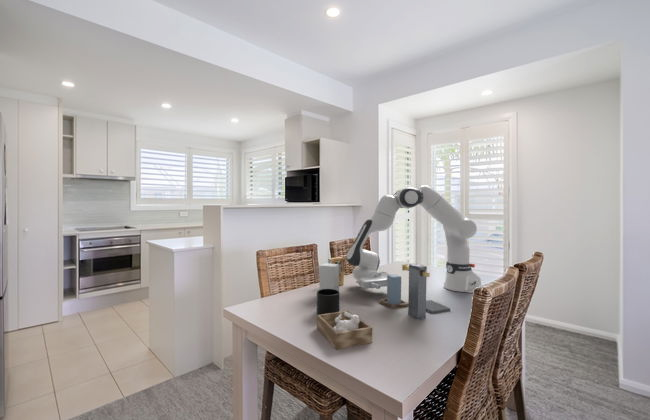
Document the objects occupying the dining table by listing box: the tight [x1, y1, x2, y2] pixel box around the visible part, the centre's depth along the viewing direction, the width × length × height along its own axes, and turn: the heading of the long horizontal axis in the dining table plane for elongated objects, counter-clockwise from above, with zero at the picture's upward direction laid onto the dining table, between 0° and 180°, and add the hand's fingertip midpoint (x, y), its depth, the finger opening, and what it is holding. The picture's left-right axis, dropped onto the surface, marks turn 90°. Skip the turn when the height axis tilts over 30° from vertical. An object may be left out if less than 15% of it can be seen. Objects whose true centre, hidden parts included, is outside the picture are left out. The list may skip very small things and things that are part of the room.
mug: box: [316, 289, 341, 315], centre depth 128 cm, size 9×12×9 cm
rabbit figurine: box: [333, 312, 360, 332], centre depth 105 cm, size 12×8×10 cm, turn 84°
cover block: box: [386, 274, 402, 305], centre depth 139 cm, size 4×4×13 cm
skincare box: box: [318, 262, 340, 292], centre depth 151 cm, size 8×7×16 cm
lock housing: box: [407, 263, 428, 320], centre depth 124 cm, size 4×6×21 cm, turn 23°
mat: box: [426, 299, 451, 315], centre depth 135 cm, size 10×12×1 cm
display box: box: [316, 310, 373, 350], centre depth 106 cm, size 13×17×5 cm
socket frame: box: [379, 297, 408, 310], centre depth 139 cm, size 10×10×1 cm
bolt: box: [401, 263, 431, 278], centre depth 125 cm, size 2×15×2 cm, turn 23°
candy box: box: [327, 256, 345, 286], centre depth 170 cm, size 9×4×15 cm, turn 129°
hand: (387, 285), depth 144 cm, fingers open, 8 cm apart
